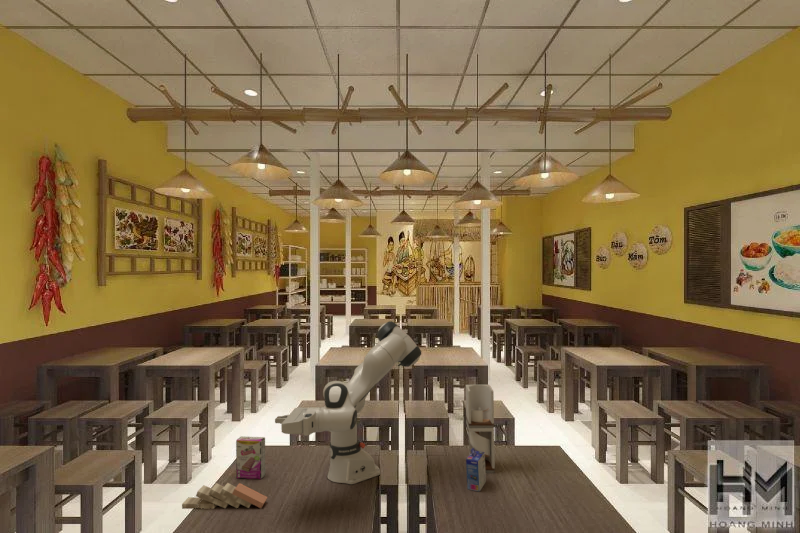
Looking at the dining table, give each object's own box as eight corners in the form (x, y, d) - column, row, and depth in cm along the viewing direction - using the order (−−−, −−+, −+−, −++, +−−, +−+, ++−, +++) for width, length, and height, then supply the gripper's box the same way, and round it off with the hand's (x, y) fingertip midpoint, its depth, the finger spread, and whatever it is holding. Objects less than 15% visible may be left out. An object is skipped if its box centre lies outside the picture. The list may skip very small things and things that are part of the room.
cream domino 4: (255, 496, 181) (227, 482, 182) (251, 503, 176) (222, 488, 177) (253, 501, 181) (225, 487, 182) (248, 508, 176) (219, 493, 177)
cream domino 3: (244, 497, 181) (216, 483, 182) (239, 503, 176) (211, 489, 177) (242, 501, 181) (214, 487, 182) (237, 508, 176) (208, 493, 177)
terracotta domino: (267, 497, 181) (239, 482, 181) (263, 503, 176) (234, 489, 176) (265, 501, 181) (237, 487, 181) (261, 508, 176) (232, 493, 176)
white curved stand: (466, 462, 215) (465, 384, 215) (490, 462, 215) (489, 384, 215) (469, 473, 204) (468, 391, 204) (494, 473, 203) (493, 391, 204)
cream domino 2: (232, 497, 181) (203, 485, 182) (227, 503, 176) (197, 491, 177) (230, 501, 181) (201, 489, 182) (225, 508, 176) (195, 496, 177)
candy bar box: (235, 479, 201) (235, 440, 201) (240, 474, 206) (240, 435, 206) (261, 479, 200) (260, 440, 200) (266, 474, 205) (265, 436, 205)
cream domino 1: (219, 497, 181) (188, 497, 182) (214, 503, 176) (182, 503, 177) (219, 502, 181) (188, 502, 182) (214, 509, 176) (182, 509, 177)
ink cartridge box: (473, 479, 198) (472, 444, 198) (486, 481, 196) (485, 446, 196) (466, 489, 189) (465, 452, 189) (479, 492, 187) (479, 454, 187)
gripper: (318, 403, 188) (283, 403, 189) (306, 419, 168) (267, 419, 168) (318, 419, 188) (283, 419, 189) (306, 437, 168) (267, 437, 168)
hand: (276, 419), depth 178 cm, fingers closed
